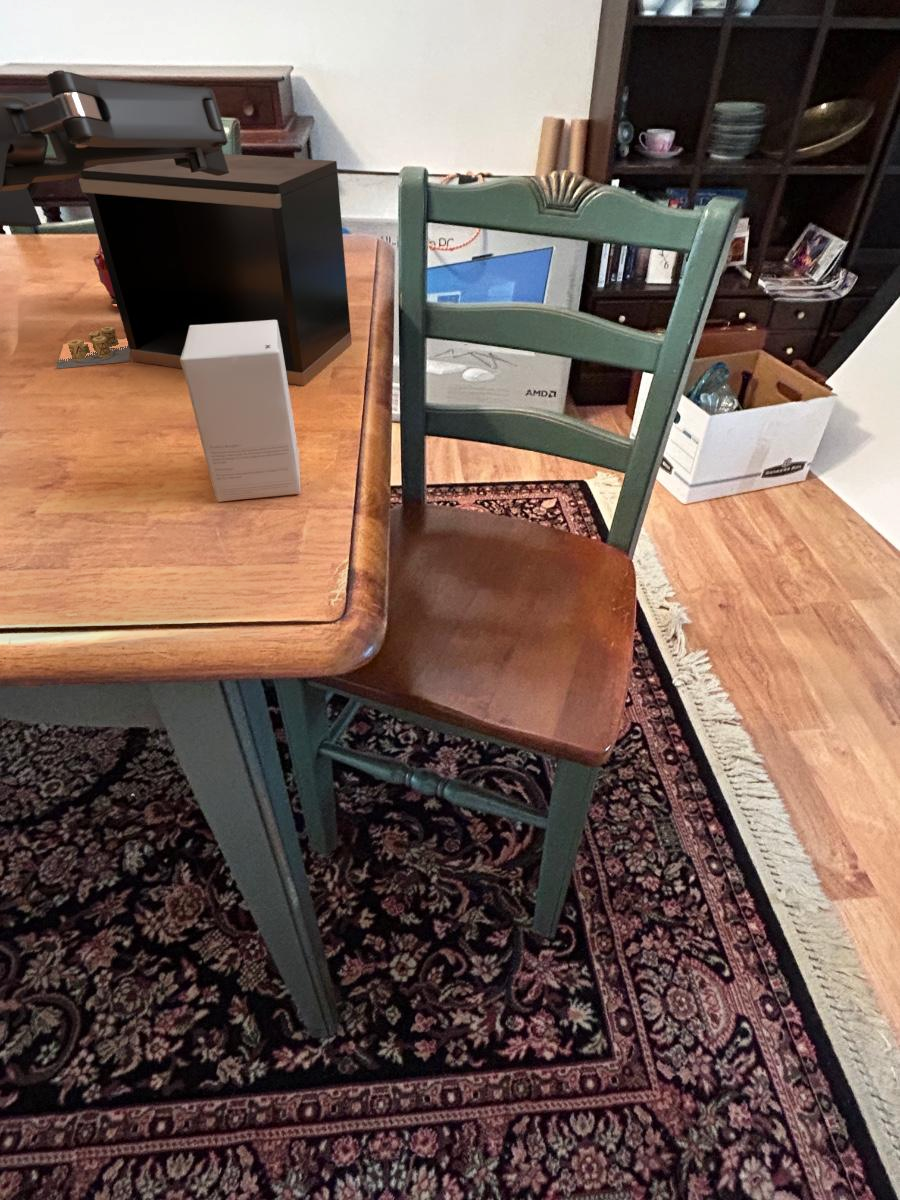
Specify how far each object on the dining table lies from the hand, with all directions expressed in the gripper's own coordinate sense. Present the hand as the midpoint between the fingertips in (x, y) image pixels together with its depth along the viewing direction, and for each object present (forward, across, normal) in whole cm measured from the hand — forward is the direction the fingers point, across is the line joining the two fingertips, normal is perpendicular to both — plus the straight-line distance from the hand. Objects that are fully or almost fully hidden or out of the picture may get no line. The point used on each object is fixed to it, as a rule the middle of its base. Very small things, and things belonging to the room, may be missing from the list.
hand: (120, 177), depth 48 cm
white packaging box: (+9, -1, -23) cm, 25 cm away
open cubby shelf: (+36, -9, -14) cm, 40 cm away
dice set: (+35, -27, -10) cm, 45 cm away
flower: (+51, -27, -6) cm, 58 cm away
